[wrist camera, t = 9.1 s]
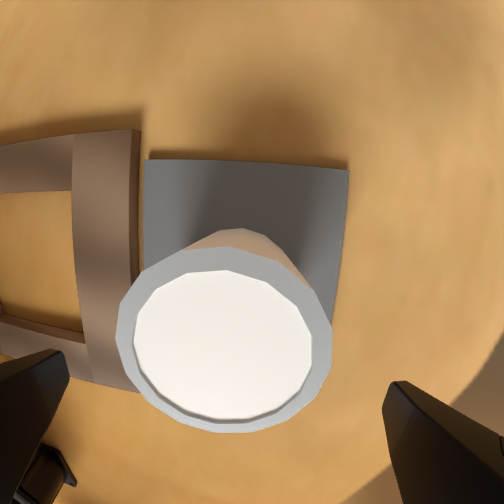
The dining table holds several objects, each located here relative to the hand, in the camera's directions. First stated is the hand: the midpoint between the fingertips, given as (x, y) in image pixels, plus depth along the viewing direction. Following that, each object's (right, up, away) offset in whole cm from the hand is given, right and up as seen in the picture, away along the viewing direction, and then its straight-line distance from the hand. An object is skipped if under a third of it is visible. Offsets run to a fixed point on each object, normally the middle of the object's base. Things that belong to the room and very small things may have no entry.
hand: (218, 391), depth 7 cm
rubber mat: (0, +2, +9) cm, 9 cm away
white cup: (0, +2, +9) cm, 9 cm away
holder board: (-13, +3, +9) cm, 16 cm away
